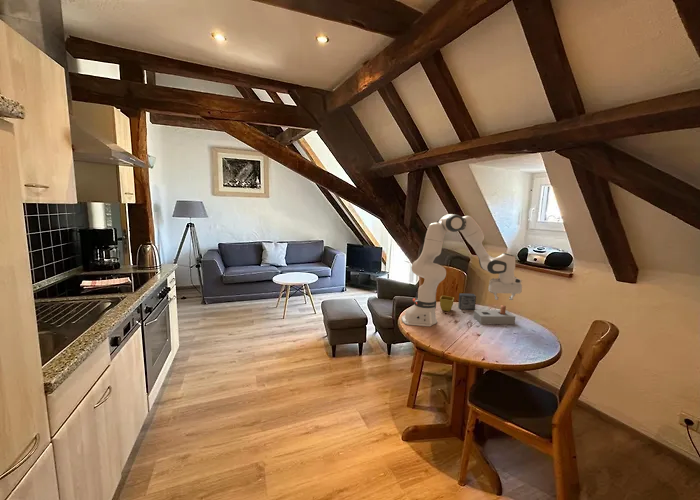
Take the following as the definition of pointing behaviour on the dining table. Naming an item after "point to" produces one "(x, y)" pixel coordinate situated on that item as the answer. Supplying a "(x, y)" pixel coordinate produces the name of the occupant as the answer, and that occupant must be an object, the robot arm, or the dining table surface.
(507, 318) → the hole block
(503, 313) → the peg
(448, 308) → the flower pot
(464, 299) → the small box
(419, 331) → the dining table surface
